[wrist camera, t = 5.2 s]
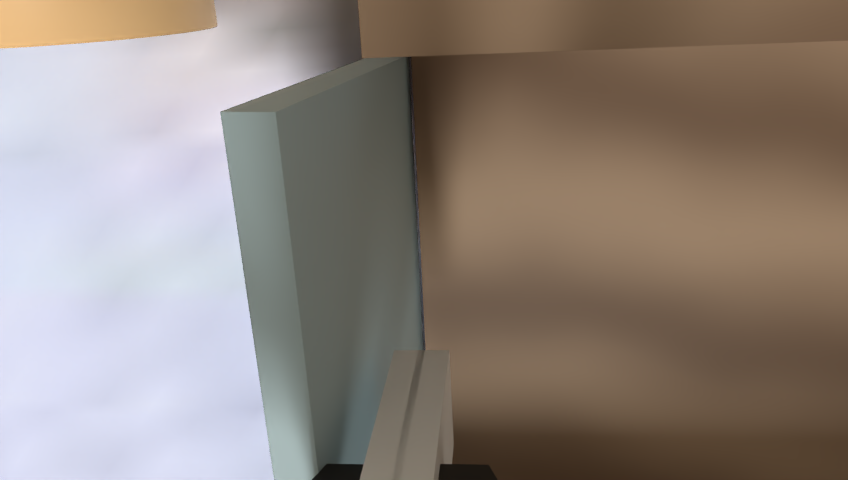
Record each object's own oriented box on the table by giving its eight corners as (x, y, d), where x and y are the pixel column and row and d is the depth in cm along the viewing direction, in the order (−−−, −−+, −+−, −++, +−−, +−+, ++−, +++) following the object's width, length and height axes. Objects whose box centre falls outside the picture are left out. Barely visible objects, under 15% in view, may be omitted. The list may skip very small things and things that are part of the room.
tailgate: (367, 55, 19) (212, 111, 12) (408, 54, 19) (275, 112, 11) (400, 526, 25) (309, 760, 17) (432, 531, 24) (353, 770, 17)
